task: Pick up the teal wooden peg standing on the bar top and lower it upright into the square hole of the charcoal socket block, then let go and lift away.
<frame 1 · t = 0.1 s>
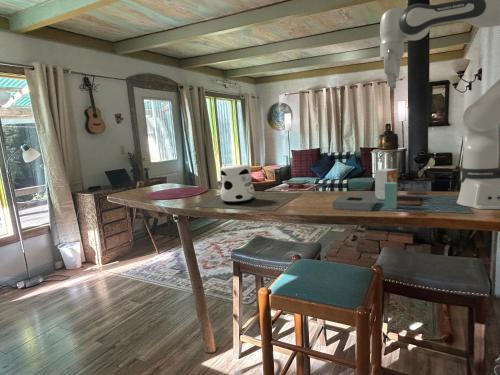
hand: (391, 87, 132), 48 cm above the table, tool pointing down, fingers open, 8 cm apart
socket: (355, 205, 136), on the table
milk container: (238, 201, 164), on the table
peg: (390, 207, 129), on the table
small box: (386, 198, 147), on the table
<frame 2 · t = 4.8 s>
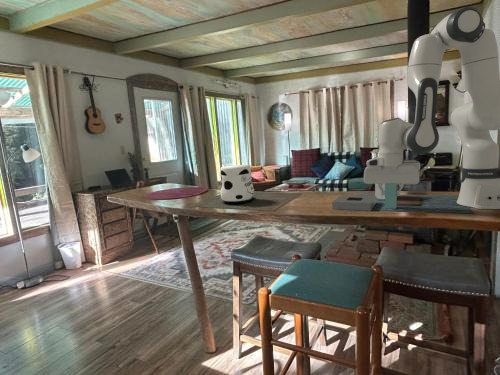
hand: (390, 194, 128), 5 cm above the table, tool pointing down, fingers closed on peg, 4 cm apart
peg: (390, 207, 129), on the table, touching gripper
everything else where it was.
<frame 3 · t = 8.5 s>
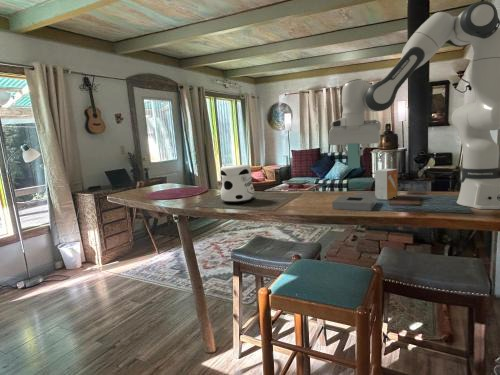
hand: (353, 155, 133), 21 cm above the table, tool pointing down, fingers closed on peg, 4 cm apart
peg: (354, 167, 134), point 16 cm above the table, touching gripper
everything else where it was.
when the fingers open (6 cm above the table, at t = 12.3 s): peg stays where it is, resting in socket.
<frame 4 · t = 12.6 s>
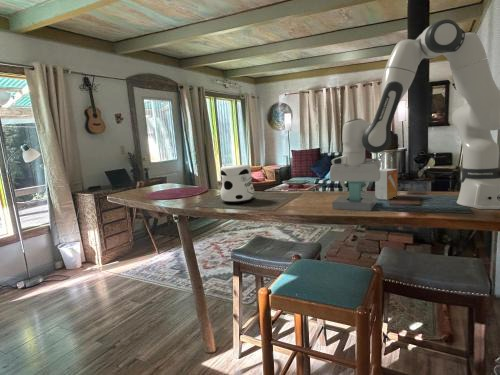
hand: (354, 191, 135), 6 cm above the table, tool pointing down, fingers open, 6 cm apart
peg: (355, 205, 136), resting in socket
everything else where it was.
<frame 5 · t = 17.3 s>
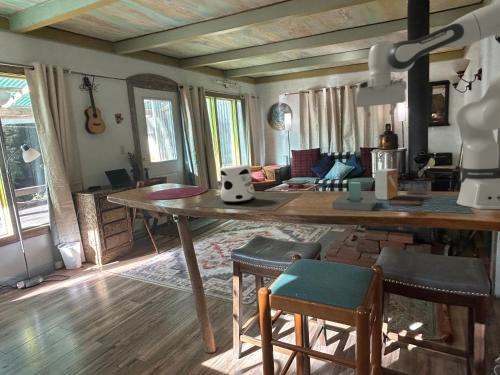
hand: (379, 115, 140), 37 cm above the table, tool pointing down, fingers open, 8 cm apart
nothing on the table moved.
at the end: peg 0.1 cm off-centre on the socket, point 0.0 cm above the socket's base; peg tilted 0°; the gripper is holding nothing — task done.
